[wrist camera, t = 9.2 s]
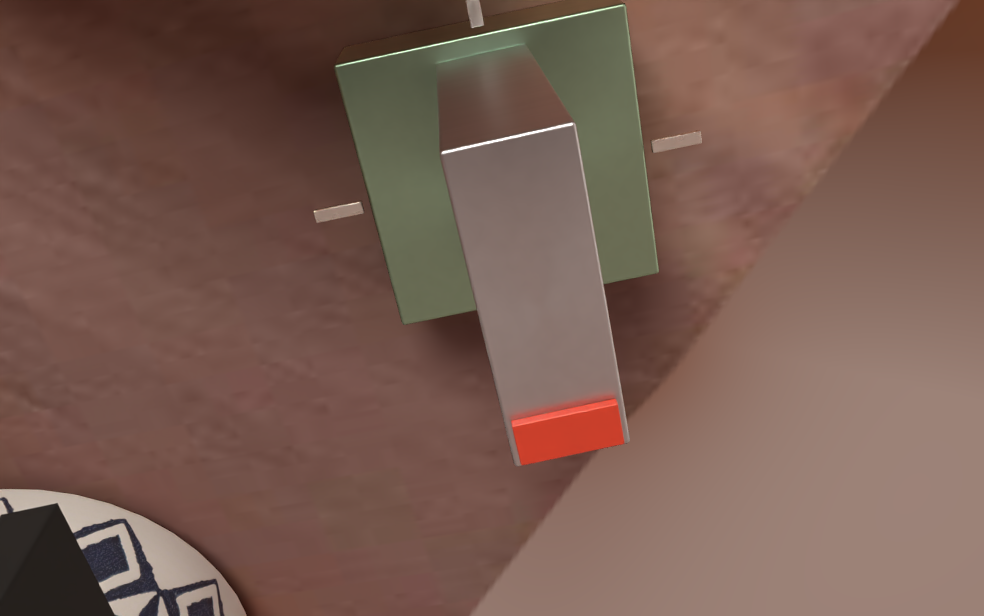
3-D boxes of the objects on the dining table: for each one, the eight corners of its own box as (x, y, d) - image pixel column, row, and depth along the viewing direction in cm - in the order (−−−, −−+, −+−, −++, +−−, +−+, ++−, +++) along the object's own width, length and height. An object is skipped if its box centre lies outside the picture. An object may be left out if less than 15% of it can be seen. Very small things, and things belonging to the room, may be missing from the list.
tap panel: (370, 338, 31) (364, 383, 28) (274, 2, 26) (254, 17, 23) (690, 272, 31) (717, 311, 28) (653, -79, 26) (681, -74, 23)
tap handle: (435, 63, 24) (438, 155, 16) (526, 43, 24) (578, 124, 16) (489, 294, 27) (515, 475, 19) (570, 277, 27) (633, 450, 19)
